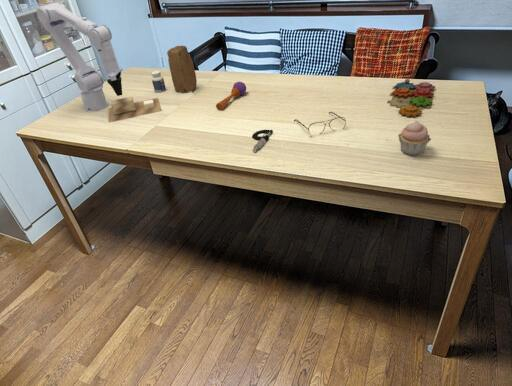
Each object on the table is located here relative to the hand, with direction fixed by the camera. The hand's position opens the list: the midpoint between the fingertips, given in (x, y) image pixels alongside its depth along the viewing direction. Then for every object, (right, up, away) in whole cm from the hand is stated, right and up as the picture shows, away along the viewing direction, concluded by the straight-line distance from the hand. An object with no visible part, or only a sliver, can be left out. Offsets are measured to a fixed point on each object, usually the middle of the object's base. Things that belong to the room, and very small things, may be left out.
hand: (119, 92), depth 154 cm
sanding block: (+1, -7, +5) cm, 9 cm away
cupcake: (+105, -29, -40) cm, 116 cm away
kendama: (+47, -3, +6) cm, 47 cm away
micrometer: (+58, -24, -25) cm, 67 cm away
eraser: (+11, -4, +7) cm, 13 cm away
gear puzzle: (+117, -7, -11) cm, 117 cm away
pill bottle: (+12, +6, +22) cm, 26 cm away
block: (+25, +6, +21) cm, 33 cm away
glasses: (+80, -18, -19) cm, 84 cm away
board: (+4, -7, +6) cm, 10 cm away
